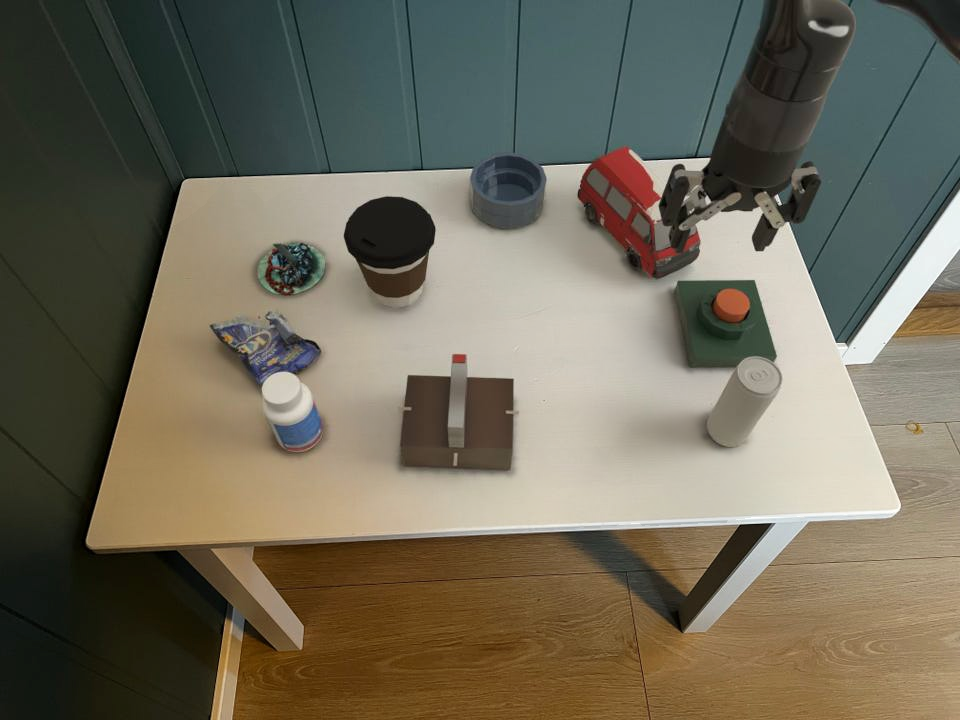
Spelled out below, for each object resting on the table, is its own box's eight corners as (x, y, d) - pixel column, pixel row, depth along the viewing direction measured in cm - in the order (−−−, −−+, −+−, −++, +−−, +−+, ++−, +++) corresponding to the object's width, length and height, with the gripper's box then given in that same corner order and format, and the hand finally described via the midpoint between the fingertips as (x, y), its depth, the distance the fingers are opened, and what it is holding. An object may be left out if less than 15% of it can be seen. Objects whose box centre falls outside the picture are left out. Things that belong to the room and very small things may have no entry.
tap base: (517, 385, 88) (519, 362, 83) (516, 487, 80) (518, 467, 76) (407, 382, 88) (404, 358, 84) (396, 483, 81) (392, 463, 76)
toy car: (642, 295, 96) (658, 242, 87) (572, 204, 105) (581, 149, 96) (699, 272, 98) (720, 218, 89) (626, 185, 107) (638, 129, 99)
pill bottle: (333, 428, 84) (318, 383, 76) (300, 462, 82) (281, 419, 74) (300, 403, 86) (281, 357, 78) (266, 436, 84) (244, 391, 76)
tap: (463, 447, 77) (463, 426, 73) (448, 447, 77) (447, 426, 73) (467, 376, 82) (467, 352, 78) (453, 376, 82) (452, 352, 78)
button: (748, 323, 89) (753, 314, 87) (716, 323, 88) (720, 314, 87) (741, 297, 91) (746, 288, 89) (709, 297, 91) (713, 288, 89)
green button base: (771, 366, 89) (782, 348, 86) (689, 367, 89) (698, 348, 86) (749, 290, 96) (759, 270, 93) (673, 291, 96) (681, 271, 93)
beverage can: (698, 418, 85) (727, 361, 75) (734, 408, 86) (768, 350, 76) (717, 454, 83) (750, 400, 73) (755, 442, 84) (793, 387, 74)
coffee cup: (402, 337, 92) (393, 275, 82) (338, 296, 95) (322, 231, 85) (456, 284, 96) (454, 218, 86) (393, 246, 100) (384, 180, 90)
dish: (329, 270, 94) (276, 239, 91) (301, 313, 96) (248, 284, 94) (331, 249, 101) (282, 220, 98) (305, 290, 103) (256, 262, 101)
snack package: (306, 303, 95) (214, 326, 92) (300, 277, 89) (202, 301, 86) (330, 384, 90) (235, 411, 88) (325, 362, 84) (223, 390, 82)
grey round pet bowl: (557, 211, 104) (561, 185, 100) (497, 241, 101) (498, 215, 97) (515, 170, 109) (517, 143, 105) (456, 197, 105) (456, 170, 101)
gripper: (696, 151, 62) (656, 275, 75) (863, 147, 62) (793, 272, 75) (679, 94, 66) (644, 222, 79) (836, 91, 66) (774, 219, 80)
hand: (717, 246), depth 77 cm, fingers open, 8 cm apart
